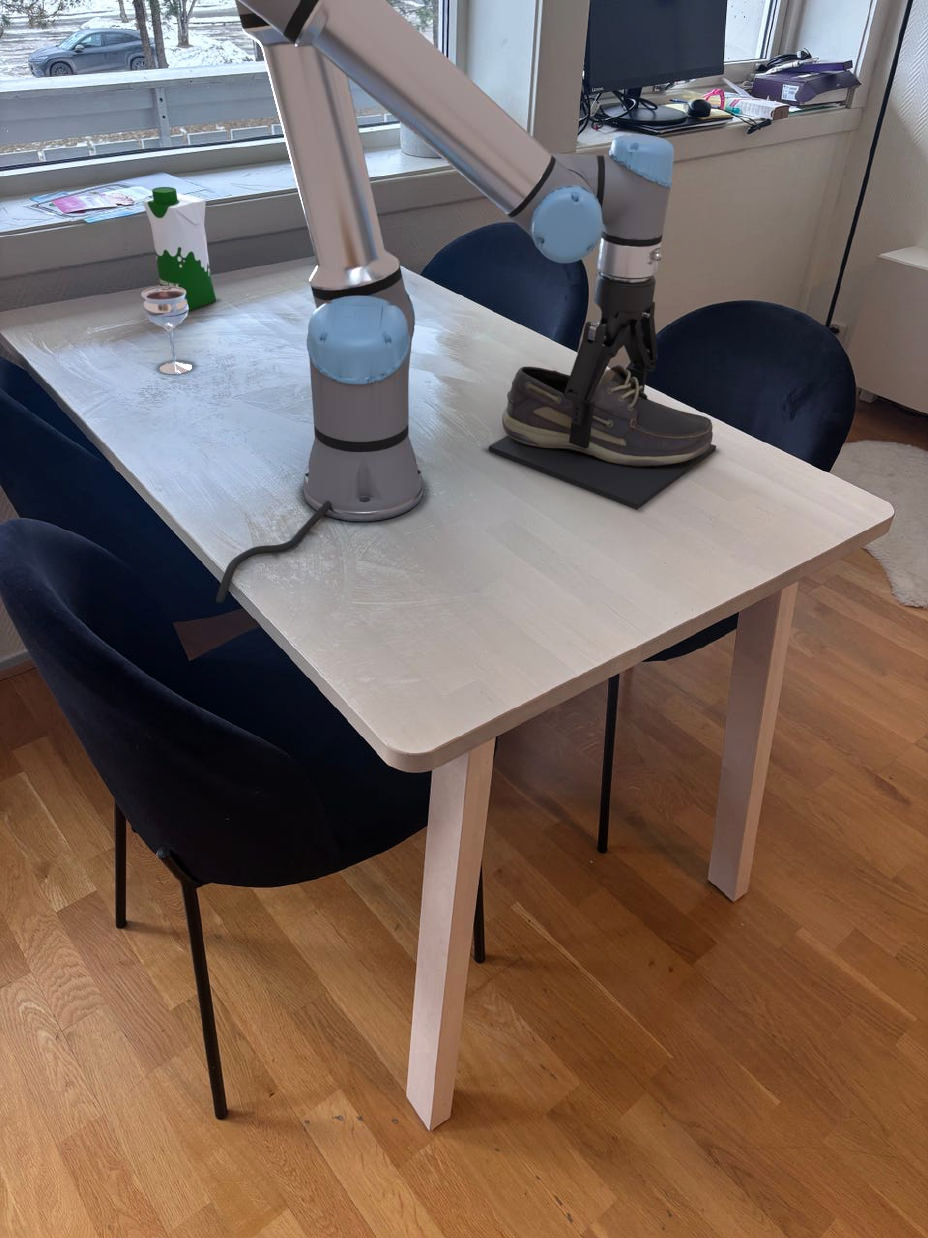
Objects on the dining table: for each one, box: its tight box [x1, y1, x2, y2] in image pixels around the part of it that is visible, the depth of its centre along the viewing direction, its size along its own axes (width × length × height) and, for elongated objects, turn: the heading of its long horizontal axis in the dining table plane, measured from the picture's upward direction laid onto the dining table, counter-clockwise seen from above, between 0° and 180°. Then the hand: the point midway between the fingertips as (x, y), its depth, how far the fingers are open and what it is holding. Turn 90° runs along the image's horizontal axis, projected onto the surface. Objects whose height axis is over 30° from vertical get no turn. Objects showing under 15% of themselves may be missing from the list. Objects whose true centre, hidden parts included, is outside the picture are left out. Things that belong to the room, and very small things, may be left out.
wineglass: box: [140, 285, 192, 375], centre depth 150 cm, size 7×7×12 cm
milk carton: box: [142, 186, 217, 312], centre depth 172 cm, size 9×9×20 cm
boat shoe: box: [501, 364, 714, 466], centre depth 131 cm, size 11×29×11 cm, turn 78°
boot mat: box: [488, 435, 717, 510], centre depth 135 cm, size 22×24×1 cm
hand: (605, 428), depth 133 cm, fingers open, 13 cm apart
